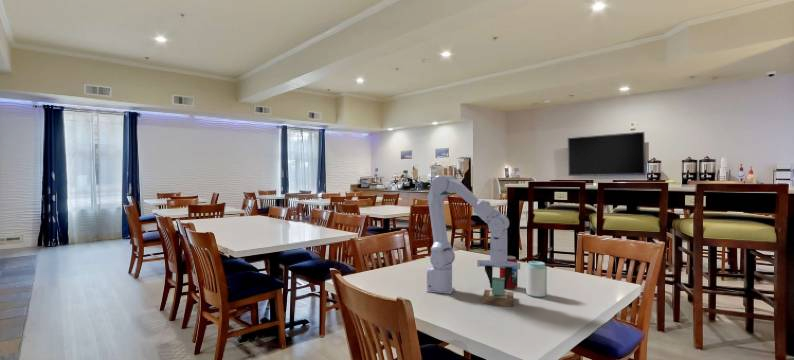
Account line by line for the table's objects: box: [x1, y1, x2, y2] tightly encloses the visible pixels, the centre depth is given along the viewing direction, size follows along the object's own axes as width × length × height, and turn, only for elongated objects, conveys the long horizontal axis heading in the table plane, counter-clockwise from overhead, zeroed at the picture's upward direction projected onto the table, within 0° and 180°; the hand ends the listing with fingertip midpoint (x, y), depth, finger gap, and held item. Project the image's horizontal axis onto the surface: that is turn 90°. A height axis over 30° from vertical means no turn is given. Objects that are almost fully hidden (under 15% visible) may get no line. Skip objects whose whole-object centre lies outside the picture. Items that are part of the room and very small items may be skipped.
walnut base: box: [482, 289, 514, 307], centre depth 135 cm, size 10×10×2 cm
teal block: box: [491, 276, 506, 296], centre depth 135 cm, size 4×4×5 cm
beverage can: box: [499, 255, 519, 290], centre depth 151 cm, size 7×7×12 cm
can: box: [525, 260, 548, 298], centre depth 142 cm, size 7×7×12 cm
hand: (498, 288), depth 135 cm, fingers closed on teal block, 4 cm apart
